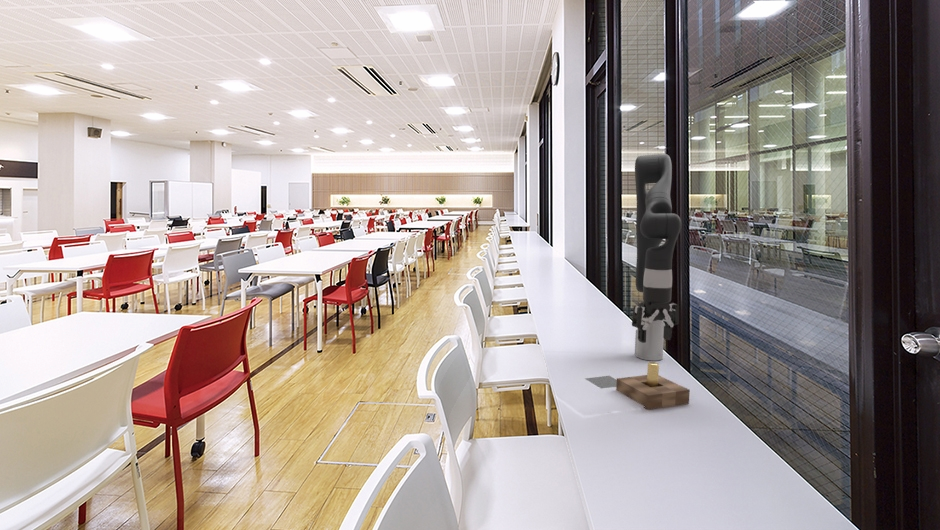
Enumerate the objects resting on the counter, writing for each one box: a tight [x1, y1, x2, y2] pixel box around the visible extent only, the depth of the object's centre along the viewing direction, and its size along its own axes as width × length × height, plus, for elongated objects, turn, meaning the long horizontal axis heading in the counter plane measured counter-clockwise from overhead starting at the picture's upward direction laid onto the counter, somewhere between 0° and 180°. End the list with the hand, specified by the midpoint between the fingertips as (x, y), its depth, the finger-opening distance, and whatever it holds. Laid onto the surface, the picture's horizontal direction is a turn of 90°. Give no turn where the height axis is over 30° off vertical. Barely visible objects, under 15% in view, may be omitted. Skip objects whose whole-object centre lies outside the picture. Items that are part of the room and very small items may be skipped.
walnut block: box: [615, 374, 690, 411], centre depth 141 cm, size 14×14×4 cm
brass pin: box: [646, 361, 660, 387], centre depth 140 cm, size 3×3×10 cm
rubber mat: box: [584, 375, 617, 389], centre depth 152 cm, size 9×9×1 cm
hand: (654, 340), depth 139 cm, fingers open, 8 cm apart
